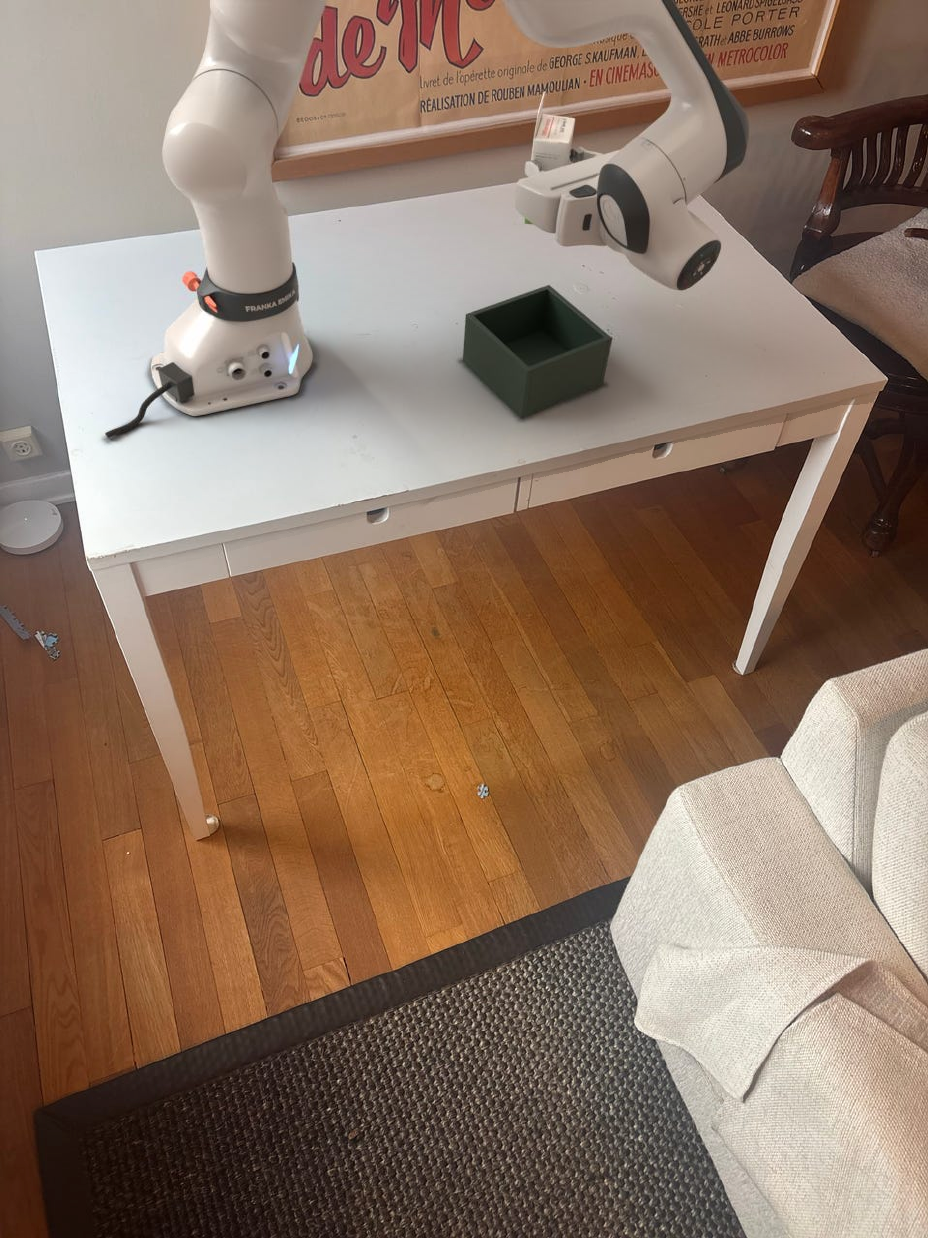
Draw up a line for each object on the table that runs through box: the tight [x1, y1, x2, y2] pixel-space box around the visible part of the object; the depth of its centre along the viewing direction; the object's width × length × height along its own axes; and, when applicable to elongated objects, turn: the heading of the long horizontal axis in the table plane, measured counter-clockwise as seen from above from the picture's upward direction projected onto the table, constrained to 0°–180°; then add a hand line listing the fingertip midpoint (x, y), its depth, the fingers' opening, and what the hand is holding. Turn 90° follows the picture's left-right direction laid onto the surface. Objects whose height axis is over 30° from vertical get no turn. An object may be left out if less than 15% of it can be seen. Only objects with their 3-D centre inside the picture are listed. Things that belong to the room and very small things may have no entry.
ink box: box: [523, 91, 576, 226], centre depth 132 cm, size 9×5×15 cm, turn 170°
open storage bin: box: [462, 284, 613, 419], centre depth 136 cm, size 15×15×8 cm
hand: (551, 159), depth 130 cm, fingers closed on ink box, 6 cm apart
